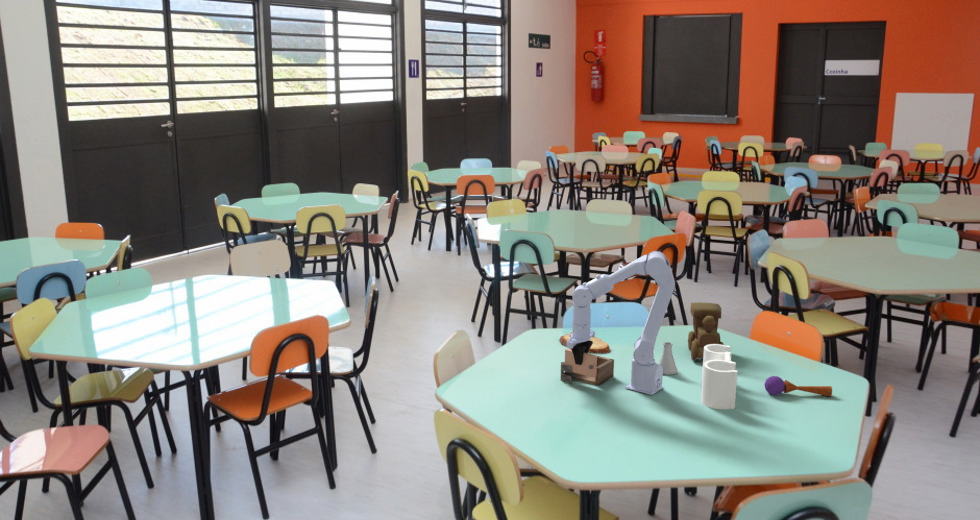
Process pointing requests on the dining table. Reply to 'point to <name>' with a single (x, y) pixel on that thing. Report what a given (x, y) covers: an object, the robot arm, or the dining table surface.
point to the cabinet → (602, 375)
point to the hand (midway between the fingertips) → (580, 363)
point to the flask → (668, 360)
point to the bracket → (718, 377)
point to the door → (587, 365)
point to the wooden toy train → (703, 328)
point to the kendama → (793, 387)
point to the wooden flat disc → (597, 344)
